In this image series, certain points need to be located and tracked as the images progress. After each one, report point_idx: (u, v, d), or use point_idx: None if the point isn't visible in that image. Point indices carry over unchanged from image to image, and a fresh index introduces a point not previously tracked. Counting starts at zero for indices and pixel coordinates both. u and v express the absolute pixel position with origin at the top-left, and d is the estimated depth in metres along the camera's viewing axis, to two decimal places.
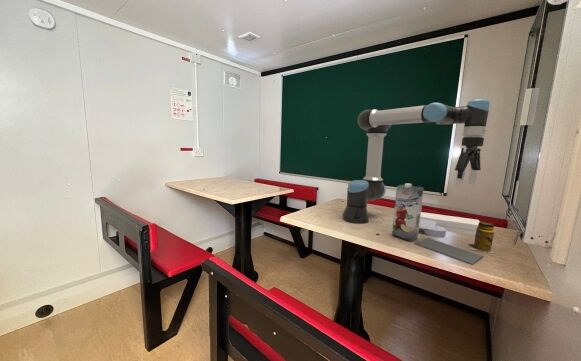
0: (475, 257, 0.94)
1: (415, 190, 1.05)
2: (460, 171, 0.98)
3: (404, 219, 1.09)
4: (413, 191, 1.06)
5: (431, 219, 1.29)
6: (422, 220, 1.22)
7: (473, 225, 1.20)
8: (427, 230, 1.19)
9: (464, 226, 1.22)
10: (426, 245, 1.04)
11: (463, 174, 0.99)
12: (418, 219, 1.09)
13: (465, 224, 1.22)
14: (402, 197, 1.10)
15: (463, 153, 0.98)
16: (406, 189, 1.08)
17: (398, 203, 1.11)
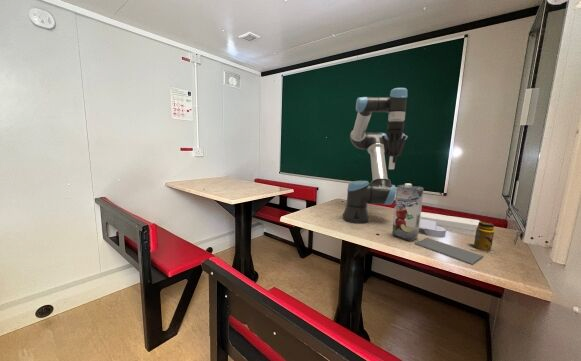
0: (475, 257, 0.94)
1: (415, 190, 1.05)
2: None
3: (404, 219, 1.09)
4: (413, 191, 1.06)
5: (430, 219, 1.29)
6: (422, 220, 1.22)
7: (473, 225, 1.20)
8: (427, 230, 1.19)
9: (463, 226, 1.22)
10: (426, 245, 1.04)
11: (389, 158, 1.17)
12: (418, 219, 1.09)
13: (465, 224, 1.22)
14: (402, 197, 1.10)
15: None
16: (406, 189, 1.08)
17: (398, 203, 1.11)
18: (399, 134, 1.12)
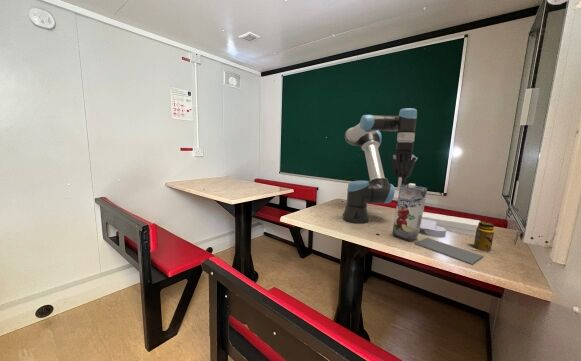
0: (475, 257, 0.94)
1: (419, 191, 1.04)
2: None
3: (405, 219, 1.09)
4: (416, 192, 1.04)
5: (430, 218, 1.30)
6: (422, 220, 1.22)
7: (472, 225, 1.20)
8: (427, 230, 1.19)
9: (463, 226, 1.22)
10: (426, 245, 1.04)
11: (398, 180, 1.14)
12: (419, 220, 1.09)
13: (464, 225, 1.22)
14: (405, 197, 1.08)
15: None
16: (409, 189, 1.07)
17: (400, 203, 1.10)
18: (408, 155, 1.09)
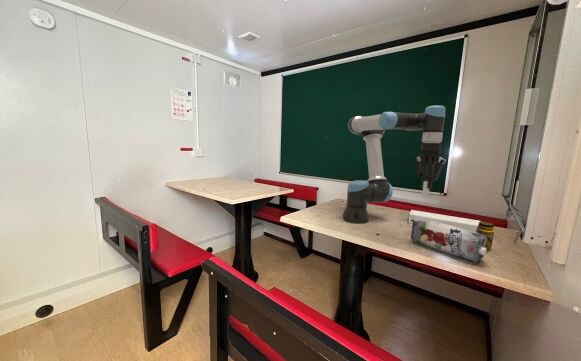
0: None
1: (474, 261, 0.89)
2: None
3: (434, 240, 0.99)
4: (472, 259, 0.89)
5: (429, 218, 1.30)
6: None
7: (472, 225, 1.20)
8: None
9: (462, 226, 1.22)
10: None
11: (423, 184, 1.04)
12: None
13: (464, 225, 1.22)
14: (462, 244, 0.91)
15: None
16: (475, 250, 0.88)
17: (453, 238, 0.93)
18: (436, 157, 0.99)
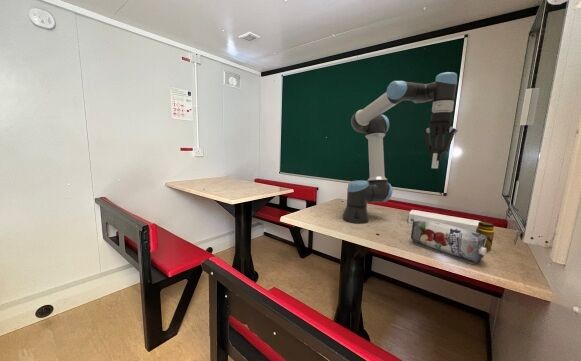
0: None
1: (474, 261, 0.89)
2: None
3: (433, 240, 0.99)
4: (472, 259, 0.89)
5: (429, 218, 1.30)
6: None
7: (471, 225, 1.20)
8: None
9: (462, 226, 1.22)
10: None
11: (433, 156, 1.01)
12: None
13: (463, 225, 1.22)
14: (462, 244, 0.91)
15: None
16: (475, 250, 0.88)
17: (453, 238, 0.93)
18: (446, 127, 0.96)
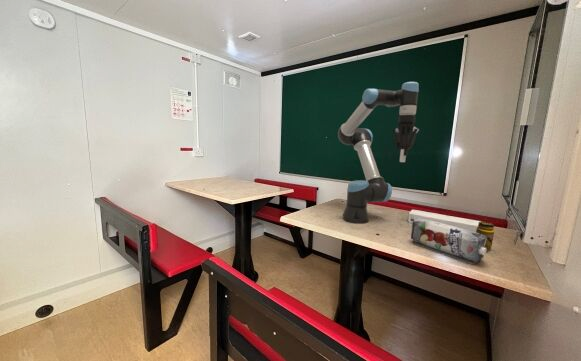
0: None
1: (474, 261, 0.89)
2: None
3: (433, 240, 0.99)
4: (472, 259, 0.89)
5: (429, 218, 1.31)
6: None
7: (471, 225, 1.20)
8: None
9: (461, 226, 1.22)
10: None
11: (400, 151, 1.19)
12: None
13: (463, 225, 1.22)
14: (462, 244, 0.91)
15: None
16: (475, 250, 0.88)
17: (453, 238, 0.93)
18: (410, 127, 1.15)
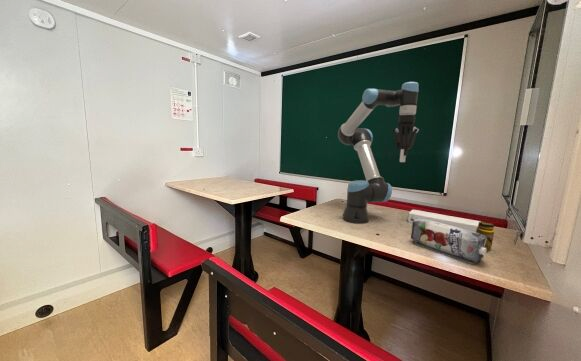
0: None
1: (474, 261, 0.89)
2: None
3: (434, 240, 0.99)
4: (472, 259, 0.89)
5: (428, 218, 1.31)
6: None
7: (470, 225, 1.20)
8: None
9: (461, 226, 1.22)
10: None
11: (400, 151, 1.19)
12: None
13: (462, 225, 1.22)
14: (462, 244, 0.91)
15: None
16: (475, 250, 0.88)
17: (453, 238, 0.93)
18: (410, 127, 1.15)
